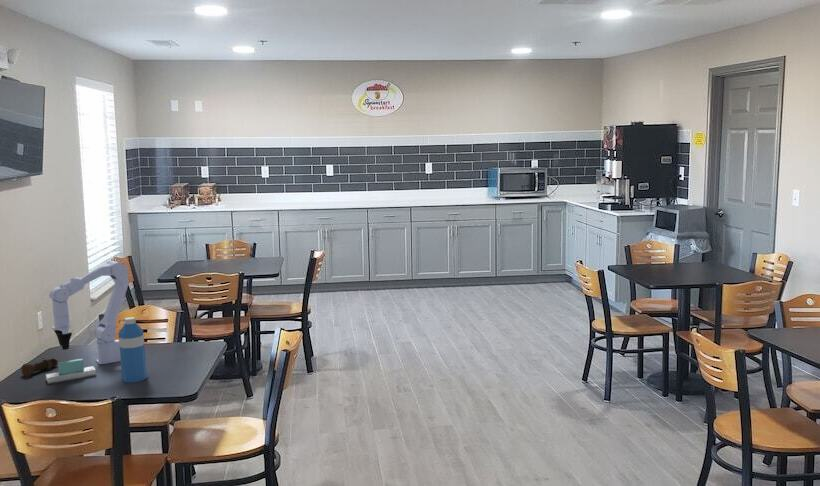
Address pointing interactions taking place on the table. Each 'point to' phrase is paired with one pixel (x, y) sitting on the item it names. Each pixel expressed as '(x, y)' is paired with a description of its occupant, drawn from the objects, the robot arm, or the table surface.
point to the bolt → (38, 366)
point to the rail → (70, 375)
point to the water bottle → (132, 351)
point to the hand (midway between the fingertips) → (64, 347)
